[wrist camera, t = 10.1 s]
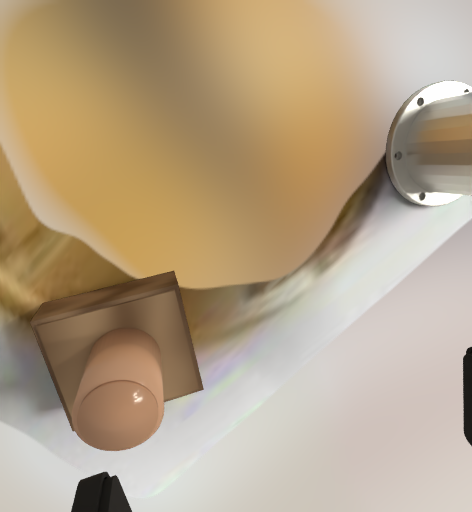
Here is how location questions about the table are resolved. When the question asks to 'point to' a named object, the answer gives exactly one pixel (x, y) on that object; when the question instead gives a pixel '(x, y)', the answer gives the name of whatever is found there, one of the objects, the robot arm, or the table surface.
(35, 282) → the table surface
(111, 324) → the walnut block
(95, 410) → the canister
